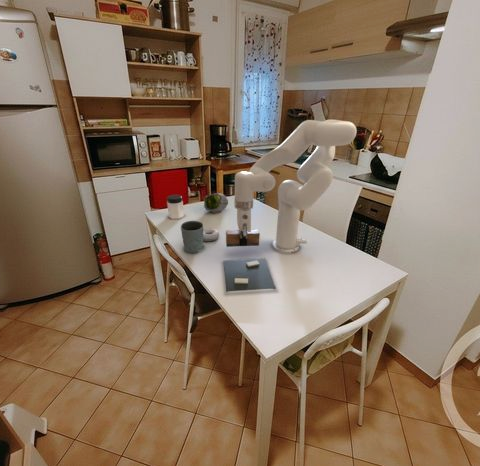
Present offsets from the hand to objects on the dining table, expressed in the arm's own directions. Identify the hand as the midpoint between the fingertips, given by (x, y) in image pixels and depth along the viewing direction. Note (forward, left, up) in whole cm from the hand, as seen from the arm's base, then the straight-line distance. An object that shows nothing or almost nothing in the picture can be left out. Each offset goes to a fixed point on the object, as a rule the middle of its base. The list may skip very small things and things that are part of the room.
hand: (242, 242), depth 114 cm
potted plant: (+11, -51, -7) cm, 53 cm away
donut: (+15, -18, -7) cm, 24 cm away
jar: (+34, -46, -7) cm, 57 cm away
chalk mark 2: (-3, +9, -5) cm, 11 cm away
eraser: (0, 0, -1) cm, 1 cm away
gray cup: (+22, -8, -7) cm, 24 cm away
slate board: (0, +15, -7) cm, 16 cm away
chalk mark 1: (+3, +20, -5) cm, 21 cm away
